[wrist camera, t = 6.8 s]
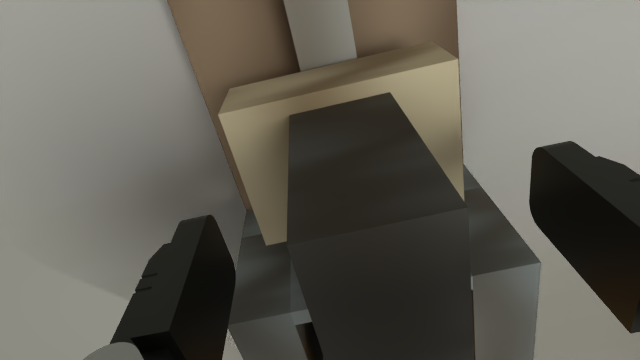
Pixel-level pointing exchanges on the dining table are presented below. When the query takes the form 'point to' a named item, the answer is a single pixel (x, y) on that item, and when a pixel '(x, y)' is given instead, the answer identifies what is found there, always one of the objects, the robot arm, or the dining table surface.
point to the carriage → (365, 198)
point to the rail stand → (274, 260)
